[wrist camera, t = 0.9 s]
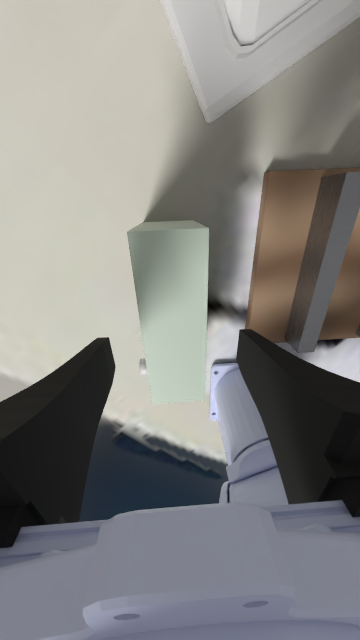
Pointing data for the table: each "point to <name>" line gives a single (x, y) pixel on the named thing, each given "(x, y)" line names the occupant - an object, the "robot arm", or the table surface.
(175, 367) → the pale green foam block
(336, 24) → the light switch
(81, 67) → the table surface
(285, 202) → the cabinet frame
